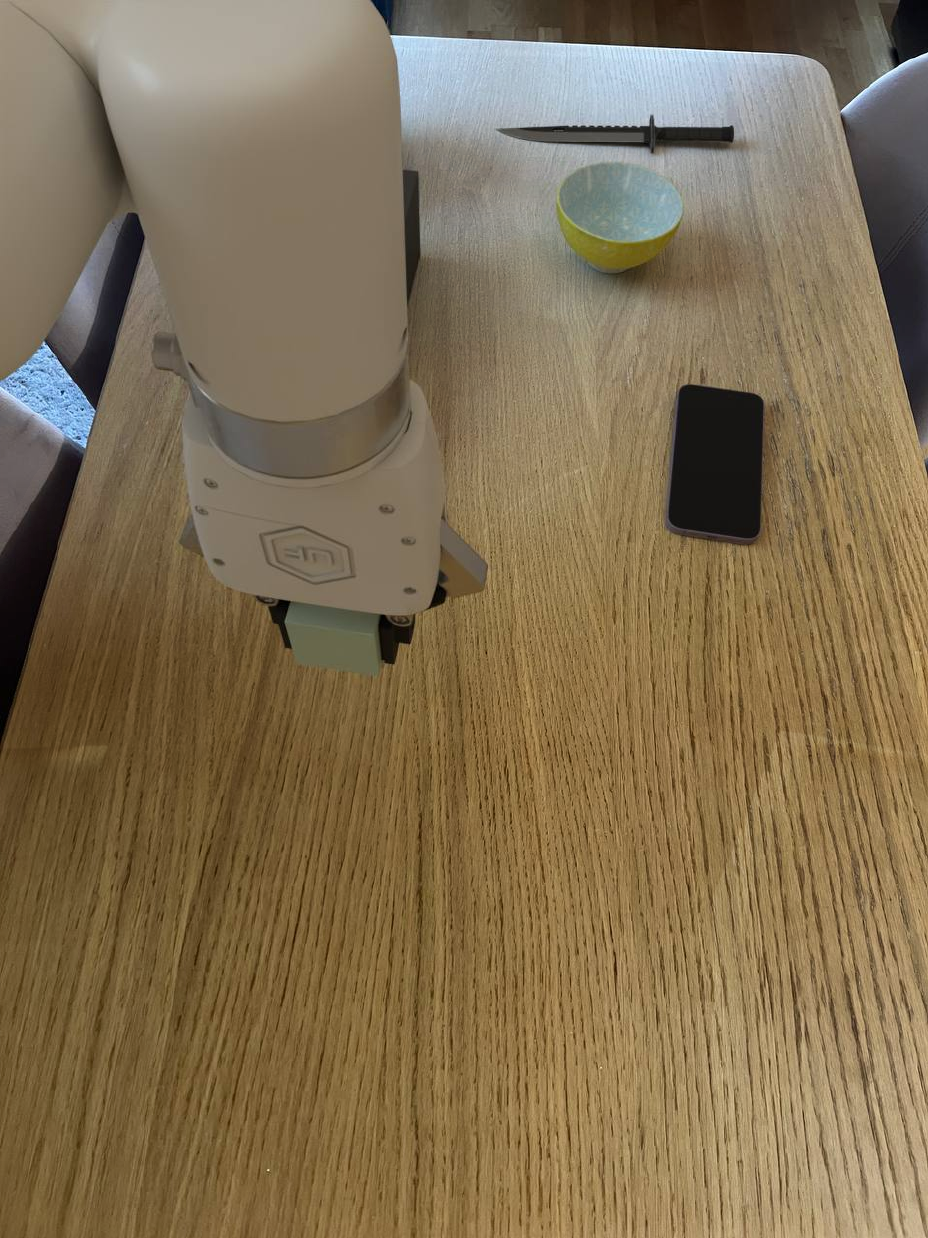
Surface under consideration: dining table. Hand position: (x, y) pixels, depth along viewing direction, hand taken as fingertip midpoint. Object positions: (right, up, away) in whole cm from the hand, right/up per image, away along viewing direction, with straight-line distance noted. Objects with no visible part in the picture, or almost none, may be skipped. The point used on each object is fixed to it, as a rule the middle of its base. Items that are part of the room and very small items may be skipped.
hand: (346, 630), depth 48 cm
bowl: (+20, +35, +39) cm, 56 cm away
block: (0, 0, 0) cm, 0 cm away
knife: (+22, +51, +48) cm, 73 cm away
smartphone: (+26, +13, +26) cm, 39 cm away
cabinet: (-5, +30, +35) cm, 46 cm away
